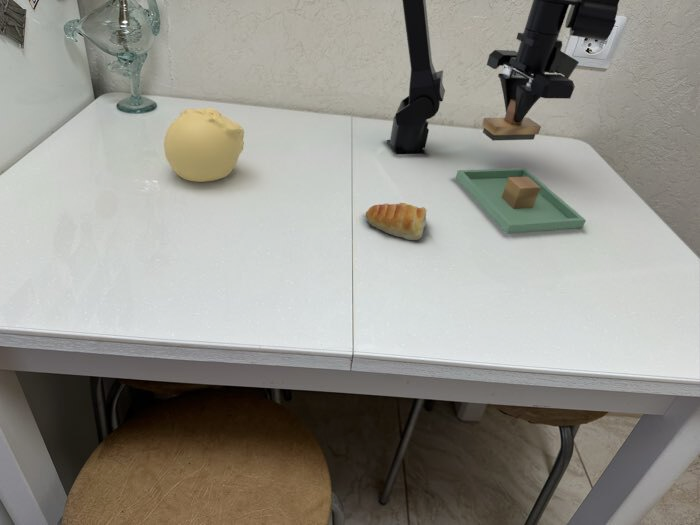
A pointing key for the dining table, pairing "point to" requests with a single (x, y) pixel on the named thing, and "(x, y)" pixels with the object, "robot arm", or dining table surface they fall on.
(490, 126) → the wooden stamp
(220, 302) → the dining table surface
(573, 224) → the tray
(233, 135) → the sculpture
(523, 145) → the dining table surface
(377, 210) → the pastry
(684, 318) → the dining table surface
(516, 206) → the wooden cube
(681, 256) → the dining table surface
